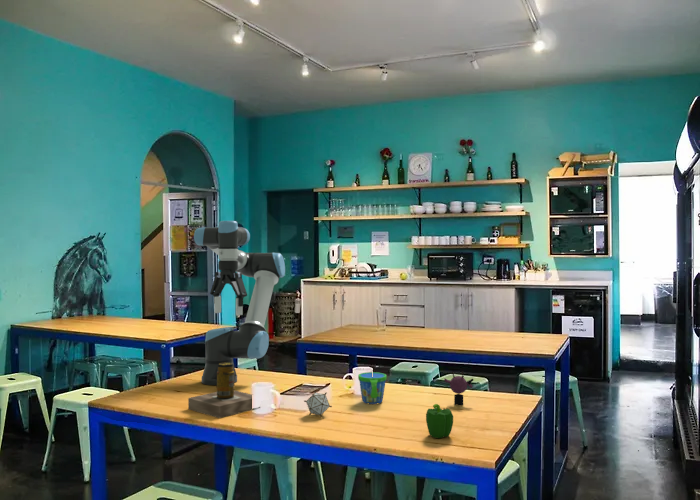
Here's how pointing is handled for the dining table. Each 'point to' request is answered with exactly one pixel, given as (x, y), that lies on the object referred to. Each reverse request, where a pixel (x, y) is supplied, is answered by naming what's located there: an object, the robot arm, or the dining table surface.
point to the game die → (318, 403)
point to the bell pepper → (439, 421)
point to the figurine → (458, 387)
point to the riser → (220, 404)
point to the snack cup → (372, 387)
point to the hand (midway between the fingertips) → (228, 313)
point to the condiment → (225, 382)
